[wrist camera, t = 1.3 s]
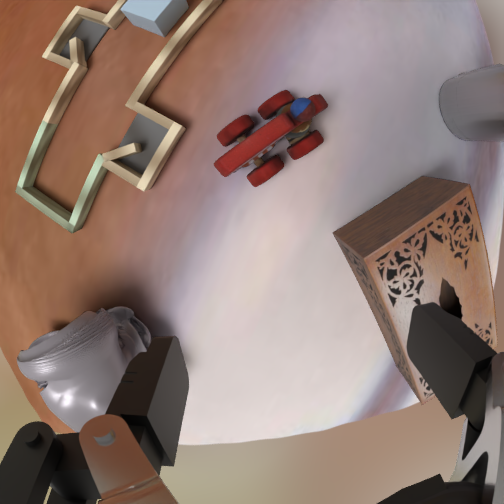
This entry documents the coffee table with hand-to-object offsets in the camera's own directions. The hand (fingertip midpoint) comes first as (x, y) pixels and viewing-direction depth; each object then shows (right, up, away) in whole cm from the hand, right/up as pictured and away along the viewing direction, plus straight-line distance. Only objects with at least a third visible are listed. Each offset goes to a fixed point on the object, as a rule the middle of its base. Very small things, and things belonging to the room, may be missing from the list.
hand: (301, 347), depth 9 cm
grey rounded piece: (-23, -11, +30) cm, 39 cm away
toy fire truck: (0, +16, +23) cm, 27 cm away
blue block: (-13, +32, +17) cm, 38 cm away
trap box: (-19, +23, +19) cm, 35 cm away
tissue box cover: (+21, -1, +29) cm, 36 cm away
